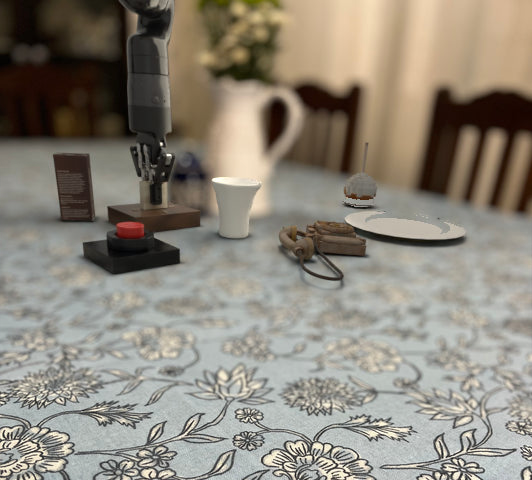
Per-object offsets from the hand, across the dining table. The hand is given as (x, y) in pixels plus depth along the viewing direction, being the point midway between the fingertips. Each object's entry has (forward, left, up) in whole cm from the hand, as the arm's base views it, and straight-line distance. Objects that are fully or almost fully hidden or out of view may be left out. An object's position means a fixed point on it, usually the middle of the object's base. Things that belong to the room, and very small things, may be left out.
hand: (153, 203), depth 99 cm
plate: (+43, -28, -4) cm, 52 cm away
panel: (0, 0, -4) cm, 4 cm away
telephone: (+14, -32, -4) cm, 35 cm away
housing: (-15, -19, -4) cm, 25 cm away
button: (-15, -19, 0) cm, 24 cm away
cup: (+9, -14, -4) cm, 17 cm away
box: (-11, +10, -4) cm, 15 cm away
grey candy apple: (+56, -5, -4) cm, 56 cm away
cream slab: (0, 0, -1) cm, 1 cm away
